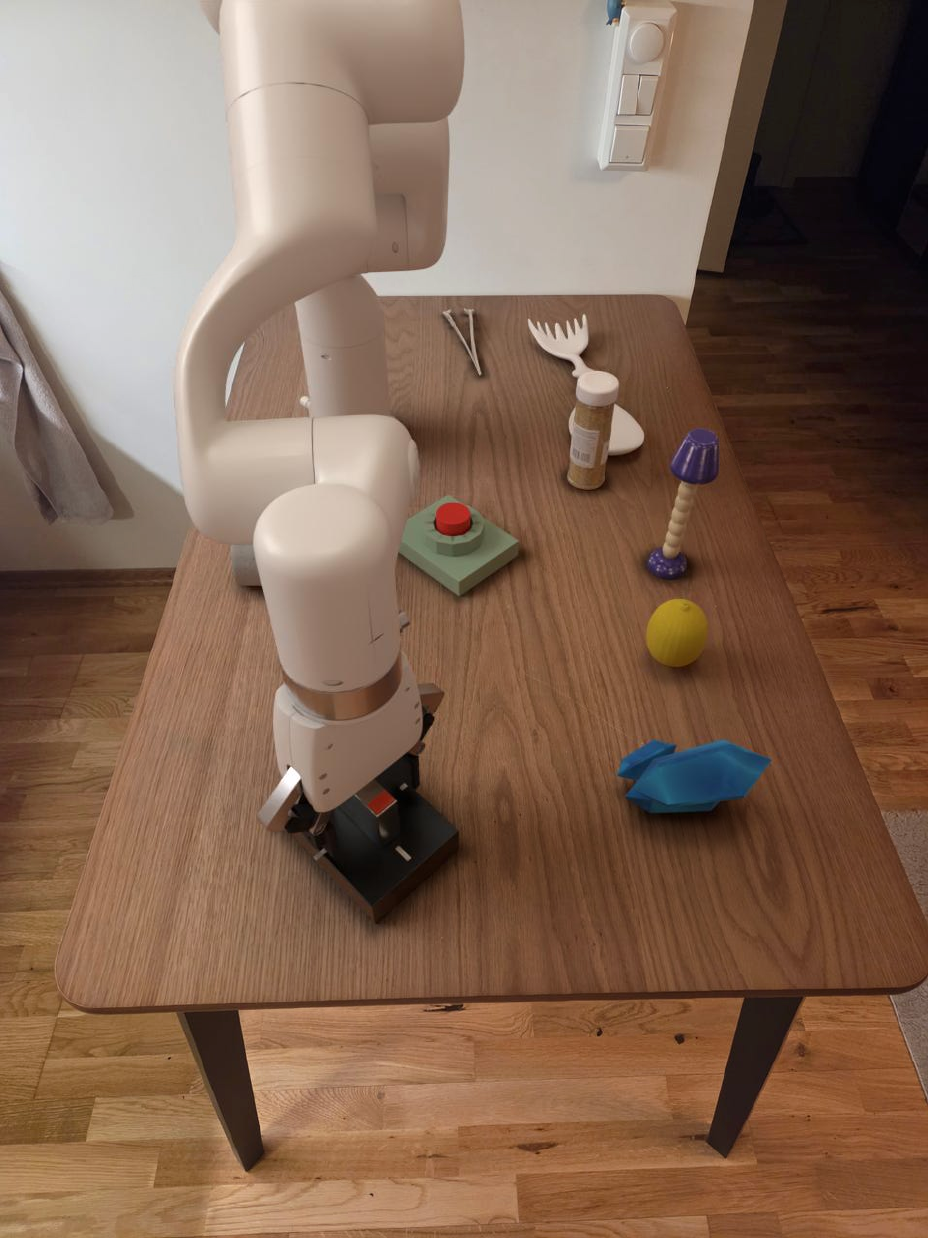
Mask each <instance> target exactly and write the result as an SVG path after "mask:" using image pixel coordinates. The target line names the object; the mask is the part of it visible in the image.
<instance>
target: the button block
mask: <svg viewBox="0 0 928 1238" xmlns="http://www.w3.org/2000/svg"><path fill="white" fill-rule="evenodd" d="M451 502H456V503H461V504H463V505H465V506H466V507H468V509H469V510H470V529H469V530H468V532H466V533H465V534H463V535H459V536H453V537H452V536H447V535H443V534H441V533H440V532H439V531H438V530H437V527H436V511H437V509H438V508H439V507H440V506H441V505H443V504H446V503H451ZM519 545H520V540H519V539H518V538H516V537H514V536H512V535H511V534H510V533H508V532H506V530H504V529H502V528H500V527H499V526H497V525H496V524H494V523H493V522H492V521H490V520H488V519H487V518H485V517H484V516H482V513H481V512H480V511H478V510H477V509H475V508H473V507H472V506H471V505H468V504H464V503H463V502H461V501H460V500H458V499H456V498H454V497H453V496H452V495H450V494H446V495H444V496H443V497H441V498H440V499H438V500H436V501H434V502H433V503H432V504H430V505H428V506H426V507H425V508H424V509H422V510H420V511H418V512H417V513H415V514H414V515H412V516H410V517H408V518H407V521H406V525H405V528H404V532H403V536H402V540H401V544H400V548H399V552H398V554H400V555H402V556H403V557H404V558H405V559H407V560H409V561H410V562H411V563H412V564H414V565H415V566H416V567H418V568H419V569H421V570H422V571H423V572H425V573H426V574H428V575H429V576H430V577H432V578H433V579H434V580H436V581H437V582H439V583H440V584H441V585H442V586H443V587H446V588H447V589H448V590H449V591H451V592H452V593H453V594H455V595H456V596H458V597H461V596H462V595H464V594H465V593H467V592H468V591H469V590H471V589H472V588H474V587H475V586H477V585H478V584H479V583H481V582H482V581H484V580H485V579H487V578H488V577H489V576H491V575H492V574H493V573H495V572H496V571H498V570H499V569H501V568H503V566H505V565H506V564H508V563H509V562H511V561H512V560H515V558H517V557H518V556H519Z"/></svg>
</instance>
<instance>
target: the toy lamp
mask: <svg viewBox="0 0 928 1238" xmlns="http://www.w3.org/2000/svg"><path fill="white" fill-rule="evenodd" d="M669 470H670V472H671V473H672V476H674V477H675V478H676V479H678V480H680V481H681V483H680V484H679V486H678V488H677V495H676V497H675V500H674V507H673V509H672V511H671V519H670V520H669V522H668V528H667V529H668V531H667V532H666V535H665V542H664V543H663V546H662V547H659V548H656V549H655V550H654V551H652V552H651V553H650V555H649V557H648V558H647V560H646V566H647V569H648V570H649V572H650V573H651V574H652V575H654V576H655V577H657V578H660V579H664V580H677V579H680V578H681V577H683V576H684V575H685V574H686V573H687V569H688V564H687V563H688V562H687V559H686V557H685V555H684V554H683V553H682V552H681V545H682V543H683V541H684V533H685V532H686V530H687V528H688V527H687V525H688V523H687V522H688V521H689V518H690V516H691V508H692V507H693V505H694V497H695V496H696V495H697V492H698V485H707V484H710V483H713V482H714V481H715V480H716V479H717V477H718V476H719V472H720V442H719V437H718V436H717V434H716V433H714V432H713V431H711V430H710V429H707V428H694V429H691V430H689V431H688V432H687V433H686V435H685V436H684V438H683V439H682V441H681V443H680V445H679V446H678V448H677V450H676V451H675V453H674V455H673V456H672V458H671V460H670V463H669Z"/></svg>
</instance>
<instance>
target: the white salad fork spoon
mask: <svg viewBox="0 0 928 1238" xmlns="http://www.w3.org/2000/svg"><path fill="white" fill-rule="evenodd" d="M573 321H574V331H573V329H572V327H571V324H570V321H569V320H566V331H567V332H566V333H567V336H566V335H565V332H564V331H563V329H562V326H561V325H560V324H559V323H558V322H556V323H555V324H554V332H555V337H554V335H553V334H552V331H551V329H550V326H549V324H548V322H545V323H544V326H545V331H544V329H543V327H542V325H541V323H540V321H537V322H536V323H537V325H536V326H537V328H536V327H535V325H534V323H533V322H532V320H531V319H530V318H528V319H527V325H528V328H529V330H530V333H531V334H532V336H533V337H534V338H535V340H536V342H537V343H538V345H539V346H540V347H541V348H542V349H543V350H544V351H545V352H547V353H548V354H550V355H551V356H554V357H556V358H558V359H562V360H567V361H570V362H572V364H573V366H574V368H575V369H574V370H572V372H571V374H572V377H573V378H575V379H578V378H579V377H580V376H581V375H582V374H584V373H586V372H590V371H595V370H594V369H592V368H590V367H588V366H587V365H586V364H585V362H584V360H583V359H582V357H581V356H580V355H582V353H583V352H584V351H585V349H586V348H587V347H588V345H589V325H588V320H587V316H586V314H584V313H583V314H582V327H581V326H580V324H579V322H578V319H577V318H576V317H574V320H573ZM575 409H576V406H575V407H574V408H573V410H572V412H571V414H570V416H569V418H568V430H569V433H570V436H571V437H572V431H573V422H574V416H575ZM644 441H645V433H644V430H643V428H642V427H641V426H640V424H639V422H637V420H636V419H635V418H634V417H633V416H632V415H631V414H630V413H629V412H627V411H626V410H625V409H623V408H622V407H621V406H619V405H618V404H616V403H615V404H614V411H613V417H612V425H611V435H610V442H609V450H608V456H622V455H625V454H629V453H631V452H633V451H635V450H637V449H639V447H641V445H643V443H644Z"/></svg>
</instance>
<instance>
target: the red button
mask: <svg viewBox="0 0 928 1238" xmlns="http://www.w3.org/2000/svg"><path fill="white" fill-rule="evenodd" d="M461 503H462V502H461ZM461 503H456V502H451V503H446V504H443V505H441V506H440V507H439V508H438V509H437V511H436V527H437V530H438V531H439V532H440V533H441V534H443V535H447V536H452V537H453V536H459V535H463V534H465V533H466V532H468V530H469V529H470V510H469V509H468V507H466V506H465V505H466V504H464V503H462V504H461ZM463 504H464V505H463Z"/></svg>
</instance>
